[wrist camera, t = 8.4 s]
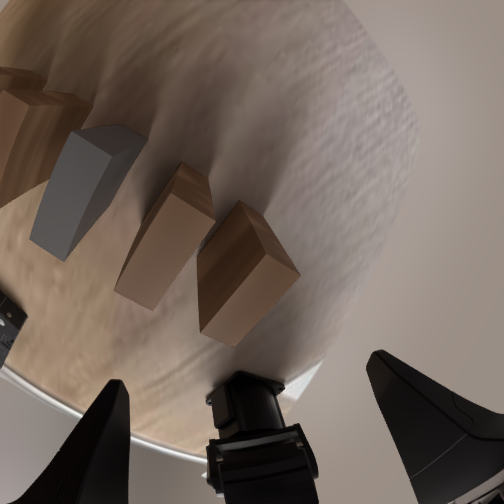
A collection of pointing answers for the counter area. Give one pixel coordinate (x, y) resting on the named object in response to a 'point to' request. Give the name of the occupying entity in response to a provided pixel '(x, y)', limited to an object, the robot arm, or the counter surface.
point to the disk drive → (9, 325)
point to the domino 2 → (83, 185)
